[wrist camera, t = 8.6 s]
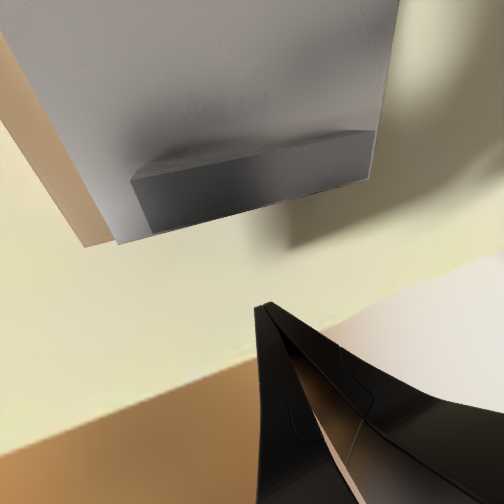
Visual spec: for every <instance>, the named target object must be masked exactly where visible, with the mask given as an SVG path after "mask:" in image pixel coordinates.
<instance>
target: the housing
mask: <svg viewBox="0 0 504 504" xmlns="http://www.w3.org/2000/svg"><path fill="white" fill-rule="evenodd" d="M0 120H1V121H2V123H3V124H4V126H5V127H6V129H7V130H8V132H9V134H10V135H11V137H12V138H13V140H14V141H15V143H16V144H17V146H18V147H19V149H20V150H21V152H22V153H23V155H24V156H25V158H26V159H27V161H28V162H29V164H30V166H31V167H32V169H33V170H34V172H35V173H36V175H37V176H38V178H39V179H40V181H41V182H42V184H43V185H44V187H45V188H46V190H47V191H48V193H49V194H50V196H51V198H52V199H53V201H54V202H55V204H56V205H57V207H58V208H59V210H60V211H61V213H62V214H63V216H64V217H65V219H66V220H67V222H68V223H69V225H70V226H71V228H72V229H73V231H74V233H75V234H76V236H77V237H78V239H79V240H80V242H81V243H82V245H83V246H84V248H86V247H90V246H94V245H97V244H101V243H105V242H109V241H113V240H115V238H114V236H113V234H112V233H111V231H110V229H109V227H108V225H107V224H106V222H105V220H104V218H103V216H102V214H101V213H100V211H99V209H98V207H97V205H96V204H95V202H94V200H93V198H92V196H91V194H90V193H89V191H88V189H87V187H86V185H85V184H84V182H83V180H82V178H81V176H80V175H79V173H78V171H77V169H76V167H75V165H74V164H73V162H72V160H71V158H70V156H69V155H68V153H67V151H66V149H65V147H64V145H63V144H62V142H61V140H60V138H59V136H58V135H57V133H56V131H55V129H54V127H53V125H52V124H51V122H50V120H49V118H48V116H47V115H46V113H45V111H44V109H43V107H42V105H41V104H40V102H39V100H38V98H37V96H36V95H35V93H34V91H33V89H32V87H31V85H30V84H29V82H28V80H27V78H26V76H25V75H24V73H23V71H22V69H21V67H20V66H19V64H18V62H17V60H16V58H15V56H14V55H13V53H12V51H11V49H10V47H9V46H8V44H7V42H6V40H5V38H4V36H3V35H2V33H1V31H0Z"/></svg>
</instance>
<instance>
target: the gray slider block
mask: <svg viewBox="0 0 504 504" xmlns="http://www.w3.org/2000/svg"><path fill="white" fill-rule="evenodd" d="M398 5H399V0H0V31H1V33H2V35H3V36H4V38H5V40H6V42H7V44H8V46H9V47H10V49H11V51H12V53H13V55H14V56H15V58H16V60H17V62H18V64H19V66H20V67H21V69H22V71H23V73H24V75H25V76H26V78H27V80H28V82H29V84H30V85H31V87H32V89H33V91H34V93H35V95H36V96H37V98H38V100H39V102H40V104H41V105H42V107H43V109H44V111H45V113H46V115H47V116H48V118H49V120H50V122H51V124H52V125H53V127H54V129H55V131H56V133H57V135H58V136H59V138H60V140H61V142H62V144H63V145H64V147H65V149H66V151H67V153H68V155H69V156H70V158H71V160H72V162H73V164H74V165H75V167H76V169H77V171H78V173H79V175H80V176H81V178H82V180H83V182H84V184H85V185H86V187H87V189H88V191H89V193H90V194H91V196H92V198H93V200H94V202H95V204H96V205H97V207H98V209H99V211H100V213H101V214H102V216H103V218H104V220H105V222H106V224H107V225H108V227H109V229H110V231H111V233H112V234H113V236H114V238H115V240H116V242H117V244H118V245H121V244H124V243H128V242H132V241H136V240H140V239H143V238H147V237H151V236H155V235H159V234H162V233H166V232H170V231H174V230H178V229H181V228H185V227H189V226H193V225H197V224H200V223H204V222H208V221H212V220H216V219H219V218H223V217H227V216H231V215H235V214H238V213H242V212H246V211H250V210H254V209H258V208H261V207H265V206H269V205H273V204H277V203H280V202H284V201H288V200H292V199H296V198H299V197H303V196H307V195H311V194H315V193H318V192H322V191H326V190H330V189H334V188H337V187H341V186H345V185H349V184H353V183H356V182H360V181H364V180H368V179H370V174H371V168H372V162H373V156H374V150H375V144H376V138H377V132H378V126H379V120H380V114H381V108H382V102H383V96H384V90H385V83H386V77H387V71H388V65H389V59H390V53H391V47H392V41H393V35H394V29H395V23H396V17H397V11H398Z"/></svg>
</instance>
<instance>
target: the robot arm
mask: <svg viewBox="0 0 504 504" xmlns="http://www.w3.org/2000/svg"><path fill="white" fill-rule="evenodd" d="M254 318H255V333H256V348H257V363H258V376H259V394H260V437H259V455H258V475H257V476H258V477H257V492H256V504H359V503H358V501H357V500H356V498H355V496H354V494H353V493H352V491H351V489H350V488H349V486H348V484H347V482H346V481H345V479H344V477H343V475H342V474H341V472H340V471H339V469H338V467H337V465H336V463H335V461H334V459H333V457H332V455H331V453H330V451H329V448H328V446H327V444H326V442H325V441H324V437H323V435H322V432H321V430H320V427H319V425H318V423H317V420H316V418H315V416H314V413H315V415H316V417H317V419H318V420H319V422H320V424H321V426H322V427H323V429H324V431H325V433H326V434H327V436H328V438H329V440H330V441H331V443H332V445H333V446H334V448H335V450H336V451H337V453H338V455H339V457H340V459H341V460H342V462H343V464H344V466H346V469H347V471H348V472H349V474H350V476H351V478H352V479H353V481H354V483H355V485H356V486H357V488H358V490H359V492H360V493H361V495H362V497H363V499H364V500H365V502H366V504H504V413H499V412H495V411H491V410H486V409H481V408H477V407H472V406H468V405H463V404H459V403H454V402H450V401H446V400H442V399H439V398H436V397H433V396H430V395H428V394H426V393H424V392H421V391H419V390H417V389H415V388H414V387H412V386H410V385H408V384H406V383H404V382H402V381H400V380H398V379H396V378H394V377H393V376H391V375H389V374H387V373H385V372H383V371H381V370H380V369H377V368H376V367H374V366H372V365H370V364H368V363H367V362H365V361H363V360H362V359H360V358H358V357H357V356H355V355H354V354H352V353H350V352H349V351H347V350H346V349H344V348H342V347H340V346H339V345H338V344H336V343H335V342H333V341H332V340H330V339H328V338H327V337H326V336H324V335H323V334H321V333H319V332H318V331H316V330H315V329H313V328H312V327H310V326H309V325H307V324H306V323H304V322H302V321H301V320H299V319H298V318H296V317H295V316H293V315H292V314H290V313H289V312H287V311H286V310H284V309H282V308H281V307H279V306H278V305H276V304H275V303H273V302H268V303H265V304H263V305H260V306H257V307H255V308H254ZM311 408H312V409H311ZM312 410H313V411H312ZM313 412H314V413H313Z"/></svg>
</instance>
